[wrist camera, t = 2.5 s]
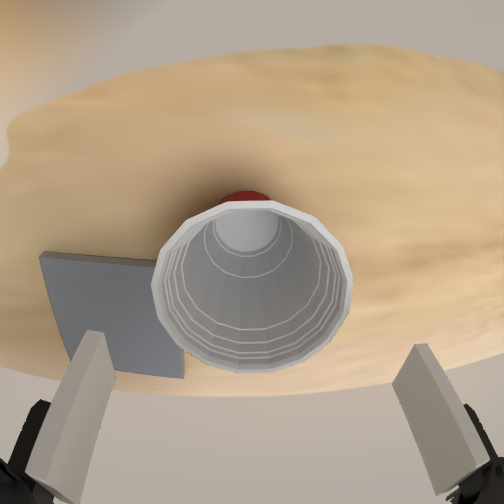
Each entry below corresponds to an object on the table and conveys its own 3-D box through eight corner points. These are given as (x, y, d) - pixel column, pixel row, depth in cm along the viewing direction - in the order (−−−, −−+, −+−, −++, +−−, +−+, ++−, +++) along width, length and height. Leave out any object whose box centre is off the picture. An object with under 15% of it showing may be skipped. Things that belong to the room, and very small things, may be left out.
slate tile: (73, 355, 33) (70, 361, 32) (44, 251, 26) (38, 256, 25) (185, 371, 34) (184, 378, 33) (180, 262, 28) (178, 269, 27)
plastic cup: (262, 131, 23) (286, 155, 12) (329, 233, 27) (382, 317, 17) (156, 208, 25) (107, 285, 15) (231, 294, 30) (232, 395, 19)
